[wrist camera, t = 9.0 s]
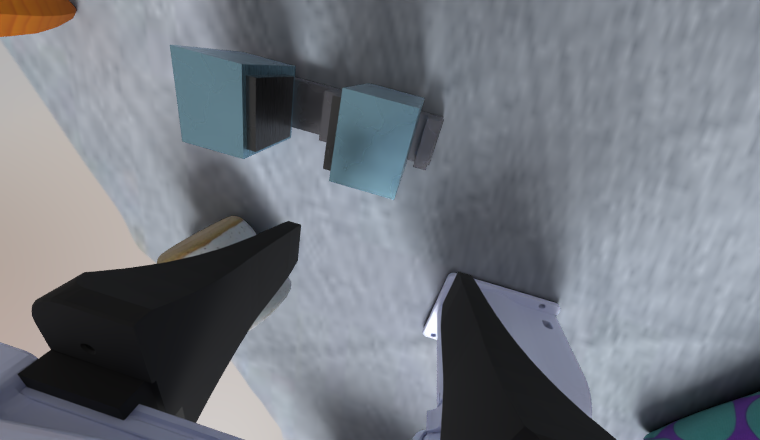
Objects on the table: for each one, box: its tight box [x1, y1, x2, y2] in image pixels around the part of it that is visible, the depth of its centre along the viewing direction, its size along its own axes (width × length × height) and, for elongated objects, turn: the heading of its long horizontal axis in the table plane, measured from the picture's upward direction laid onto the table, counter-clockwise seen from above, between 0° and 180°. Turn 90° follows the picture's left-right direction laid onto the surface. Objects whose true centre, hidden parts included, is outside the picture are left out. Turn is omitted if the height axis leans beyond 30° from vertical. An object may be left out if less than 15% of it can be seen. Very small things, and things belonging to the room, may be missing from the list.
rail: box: [170, 45, 444, 170], centre depth 16 cm, size 14×4×7 cm, turn 77°
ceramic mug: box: [157, 216, 291, 331], centre depth 24 cm, size 11×8×8 cm
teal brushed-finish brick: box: [323, 83, 425, 200], centre depth 16 cm, size 4×4×6 cm
